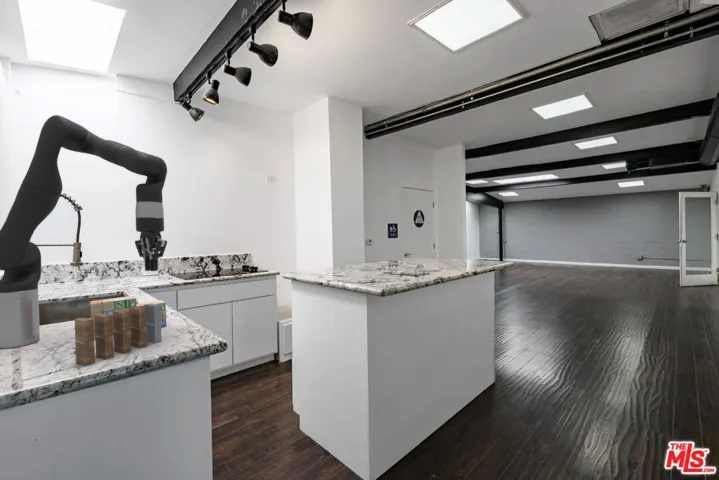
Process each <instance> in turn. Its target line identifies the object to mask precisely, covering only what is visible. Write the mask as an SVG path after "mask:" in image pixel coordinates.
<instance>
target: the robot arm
mask: <svg viewBox="0 0 719 480" xmlns="http://www.w3.org/2000/svg"><path fill="white" fill-rule="evenodd" d="M36 143H37V144H36V147H35V150H34V154H33V157H32V159H31V162H30V164H29V166H28V169H27V171H26V174H25V176H24V178H23V179H22V182H21V184H20V186H19V188H18V190H17V192H16V193H17V194H16V196H15V198H14V201H13V203H12V206H11V207H10V210H9V212H8V214H7V217H6V219H5V221H4V223H3V224H2V226H1V228H0V271H3V275H2V277H1V278H0V349H10V348H11V349H12V348H18V347H22V346H23V347H24V346H27V345H31V344H35V343H36V342H39V341H40V337H41V333H40V332H41V331H40V307H39V306H40V304H39V303H40V302H39V282H40V280H41V276H42V254H41V250H40V248H39V247H38V246H37V244H36V243H34V242H32V241H31V239H32V237H33V234H34V232H35V230H36V229H37V228H38V227H39V226H40V225H41V223H43V221H45V219H46V218H48V216H49V215H51V213H52V212H53V210H54V209H55V208H56V206H57V204H58V201H59V199H60V198H61V194H62V192H63V181H62V177H61V174H60V170H59V165H58V161H59V156H60V155H59V154H60V152H61V149H65V150H68V151H71V152H76V153H80V154H88V155H93V156H96V157H97V158H100V159H103V160H104V161H106V162H109V163H111V164H114V165H115V166H118V167H121V168H124V169H126V170H127V171H129V172H131V173H133V174H136V175H138V176H144V177H146V179H145V183H143V182H142V183H138V184H137V185H136V187H135V209H134V211H135V231H136V233H137V232H139V233H140V234H139V239H138V240H134V244H135V248H136V250H137V253H138V256H139V257H140V258H142V259H143V260H144V271H146V272H157V271H158V270H159V259H160V258H163V257H164V254H165V250H166V248H167V245H168V241H167V240H166V239H165V240H164V239H163V238H162V234H161V232H164V231H165V211H164V206H163V205H164V204H163V202H164V201H163V189H164V186H165V182H166V177H167V175H168V167H167V163H166V162H165V160H164V159H163V158H162V157H159V156H156V155H153V154H149V153H147V152H143V151H140V150H136V149H135V148H133V147H132V146H129V145H126V144H123V143H121V142H118V141H115V140H111V139H110V140H109V139H104V138H101V137H100V136H98V135H96V134H94V133H93V132H92V131H90V130H89V129H87V128H85V127H84V126H82V125H80V124H78V123H76V122H75V121H73V120H71V119H69V118H66V117H64V116H62V115H59V114H56V115H55V114H54V115H52V116H50V117H48V118H47V119H46V120H45V122H44V123H43V125H42V127H41V129H40V133H39V136H38V141H37V142H36Z"/></svg>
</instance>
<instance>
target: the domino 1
mask: <svg viewBox="0 0 719 480" xmlns="http://www.w3.org/2000/svg"><path fill="white" fill-rule="evenodd" d="M74 338H75V340H74V343H75V363H76V364H78V365H82V366H85V367H88V366H90V365H93V364H96V346H95V339H94V320H93V319H91V317H84V316H83V317H79V318H75V319H74Z"/></svg>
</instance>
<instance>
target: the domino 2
mask: <svg viewBox="0 0 719 480" xmlns="http://www.w3.org/2000/svg"><path fill="white" fill-rule="evenodd" d="M94 316H95V339H94V344H95V358H99V359H102V360H109V359H111V358H114V357H115V351H114V336H113V315H109V314H104V313H102V314H97V315H94Z"/></svg>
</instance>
